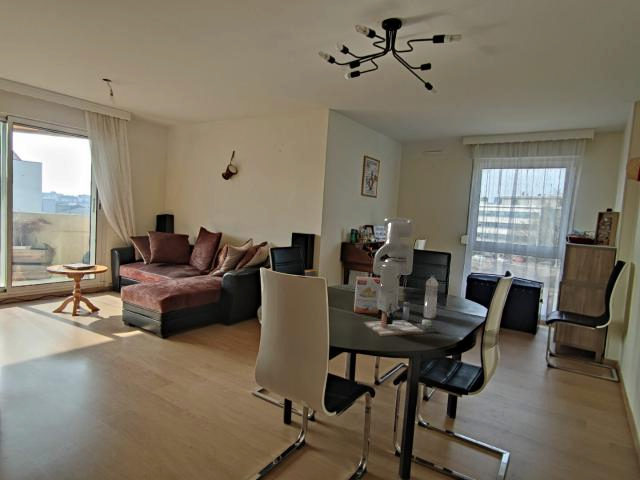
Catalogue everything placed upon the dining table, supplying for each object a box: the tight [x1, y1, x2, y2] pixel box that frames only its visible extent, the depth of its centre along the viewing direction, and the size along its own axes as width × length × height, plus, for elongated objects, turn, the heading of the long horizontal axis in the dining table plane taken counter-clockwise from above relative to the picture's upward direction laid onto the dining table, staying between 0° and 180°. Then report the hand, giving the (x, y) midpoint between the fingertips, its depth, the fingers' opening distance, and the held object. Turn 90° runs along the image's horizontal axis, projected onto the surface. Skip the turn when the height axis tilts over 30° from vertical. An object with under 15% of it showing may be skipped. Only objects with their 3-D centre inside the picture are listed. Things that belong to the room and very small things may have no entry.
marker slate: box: [402, 301, 411, 322], centre depth 210 cm, size 3×3×10 cm
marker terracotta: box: [381, 311, 388, 328], centre depth 190 cm, size 3×3×10 cm
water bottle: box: [423, 274, 439, 320], centre depth 218 cm, size 7×7×25 cm
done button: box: [421, 318, 432, 327], centre depth 194 cm, size 5×5×4 cm
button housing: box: [416, 322, 437, 334], centre depth 194 cm, size 7×7×2 cm
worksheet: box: [363, 319, 425, 337], centre depth 193 cm, size 19×25×1 cm
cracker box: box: [353, 276, 380, 315], centre depth 221 cm, size 14×6×21 cm, turn 92°
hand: (384, 321), depth 190 cm, fingers open, 9 cm apart
